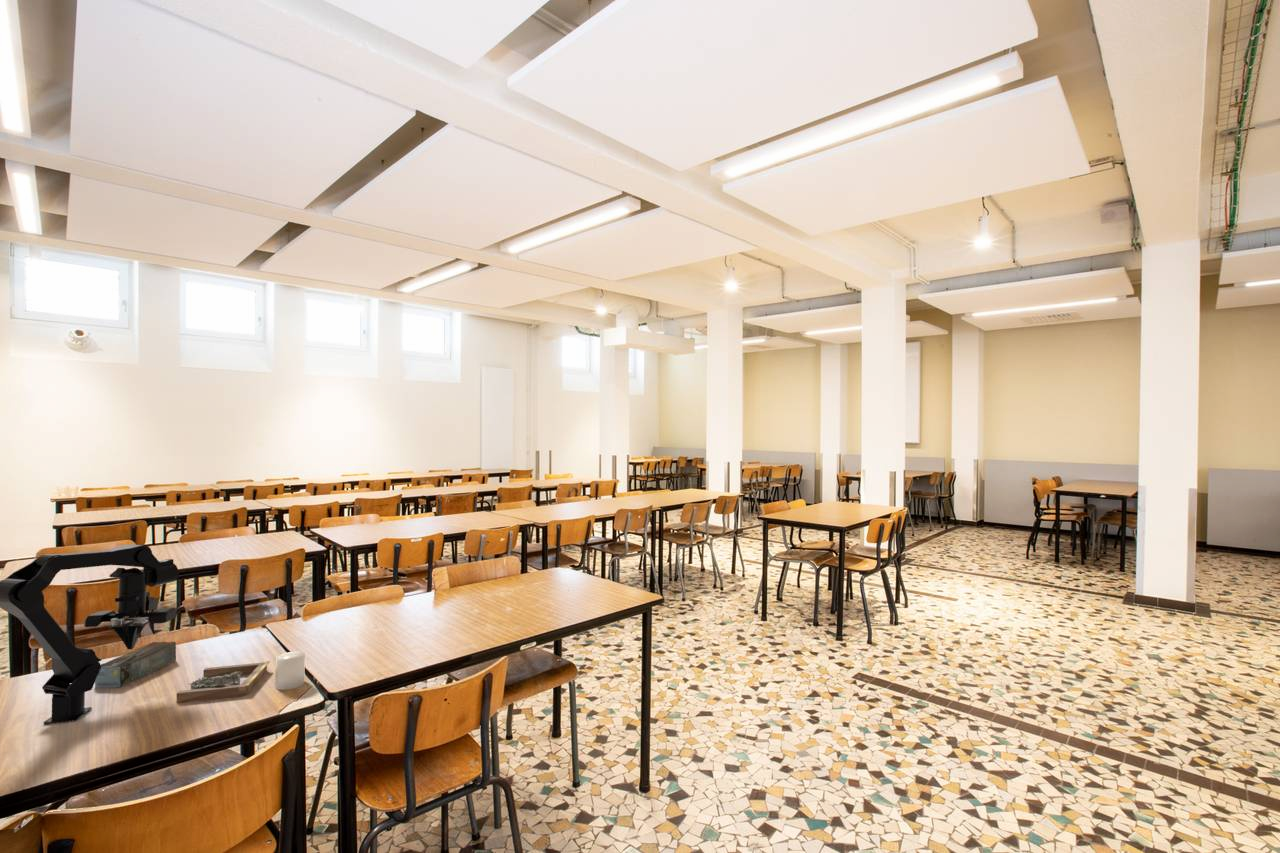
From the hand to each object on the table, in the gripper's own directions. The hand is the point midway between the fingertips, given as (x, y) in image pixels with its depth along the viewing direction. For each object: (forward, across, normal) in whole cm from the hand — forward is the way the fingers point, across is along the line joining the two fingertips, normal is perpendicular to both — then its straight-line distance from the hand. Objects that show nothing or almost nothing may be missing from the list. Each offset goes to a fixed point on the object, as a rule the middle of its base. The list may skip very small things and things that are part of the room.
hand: (130, 648), depth 156 cm
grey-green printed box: (+12, +6, -14) cm, 20 cm away
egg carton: (+12, -22, +4) cm, 25 cm away
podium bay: (+12, -23, +1) cm, 26 cm away
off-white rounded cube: (+12, -40, +4) cm, 42 cm away
